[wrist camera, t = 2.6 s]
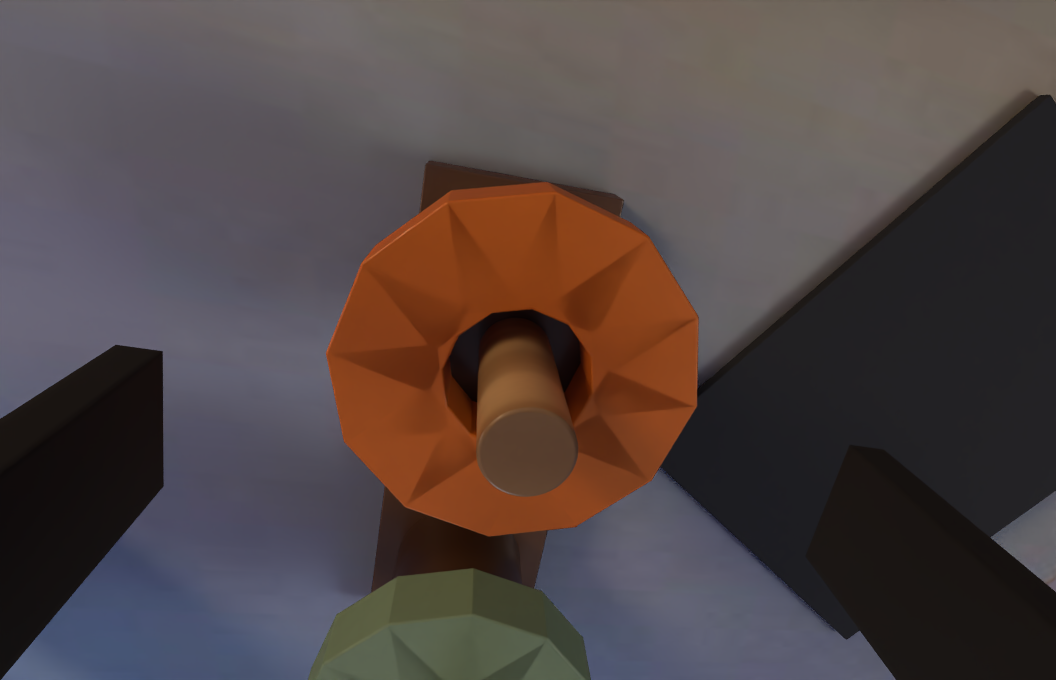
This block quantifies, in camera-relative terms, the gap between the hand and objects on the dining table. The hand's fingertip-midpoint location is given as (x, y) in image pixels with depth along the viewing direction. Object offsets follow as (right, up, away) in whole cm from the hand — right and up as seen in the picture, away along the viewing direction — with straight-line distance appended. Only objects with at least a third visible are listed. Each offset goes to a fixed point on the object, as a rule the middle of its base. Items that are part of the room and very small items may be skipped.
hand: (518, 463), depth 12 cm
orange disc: (0, +2, +5) cm, 6 cm away
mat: (+18, -1, +16) cm, 23 cm away
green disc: (-2, -9, +9) cm, 13 cm away
